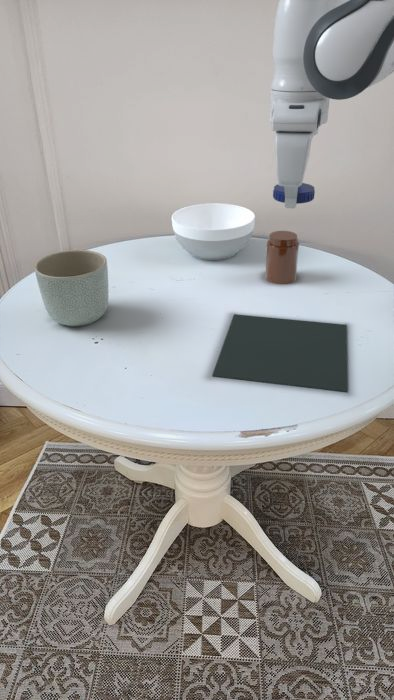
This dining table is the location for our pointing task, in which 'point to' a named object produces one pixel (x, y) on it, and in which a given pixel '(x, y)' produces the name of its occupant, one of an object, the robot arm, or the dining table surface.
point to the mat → (285, 353)
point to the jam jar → (282, 257)
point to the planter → (74, 286)
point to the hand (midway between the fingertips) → (292, 200)
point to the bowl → (213, 229)
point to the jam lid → (303, 193)
